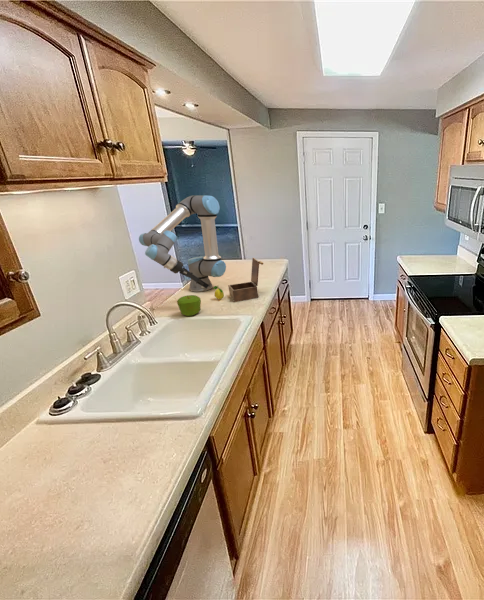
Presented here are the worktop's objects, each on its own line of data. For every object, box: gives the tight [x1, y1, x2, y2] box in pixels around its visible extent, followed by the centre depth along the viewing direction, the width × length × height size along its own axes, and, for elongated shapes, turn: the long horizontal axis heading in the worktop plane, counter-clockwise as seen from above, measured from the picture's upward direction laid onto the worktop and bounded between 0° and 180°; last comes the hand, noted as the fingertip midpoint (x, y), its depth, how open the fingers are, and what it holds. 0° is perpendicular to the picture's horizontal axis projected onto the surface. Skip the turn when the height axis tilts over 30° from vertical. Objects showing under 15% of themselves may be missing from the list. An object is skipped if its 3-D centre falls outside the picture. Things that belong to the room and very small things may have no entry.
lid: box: [250, 257, 264, 287], centre depth 221 cm, size 16×14×5 cm
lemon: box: [212, 285, 225, 301], centre depth 215 cm, size 7×6×10 cm
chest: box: [227, 281, 259, 303], centre depth 220 cm, size 16×14×8 cm
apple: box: [176, 294, 202, 317], centre depth 192 cm, size 12×12×11 cm
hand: (203, 284), depth 207 cm, fingers open, 13 cm apart
